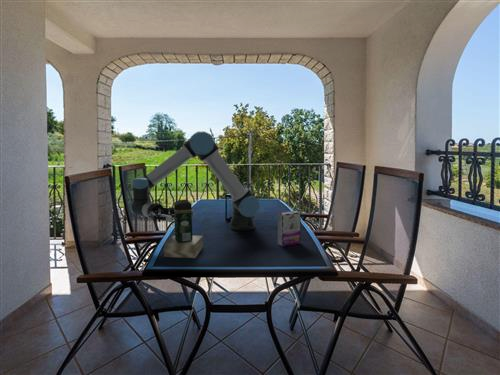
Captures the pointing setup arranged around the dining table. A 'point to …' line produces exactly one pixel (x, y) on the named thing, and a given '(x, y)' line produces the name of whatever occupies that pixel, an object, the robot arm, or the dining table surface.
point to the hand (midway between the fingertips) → (183, 216)
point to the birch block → (183, 247)
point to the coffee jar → (183, 221)
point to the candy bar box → (289, 228)
